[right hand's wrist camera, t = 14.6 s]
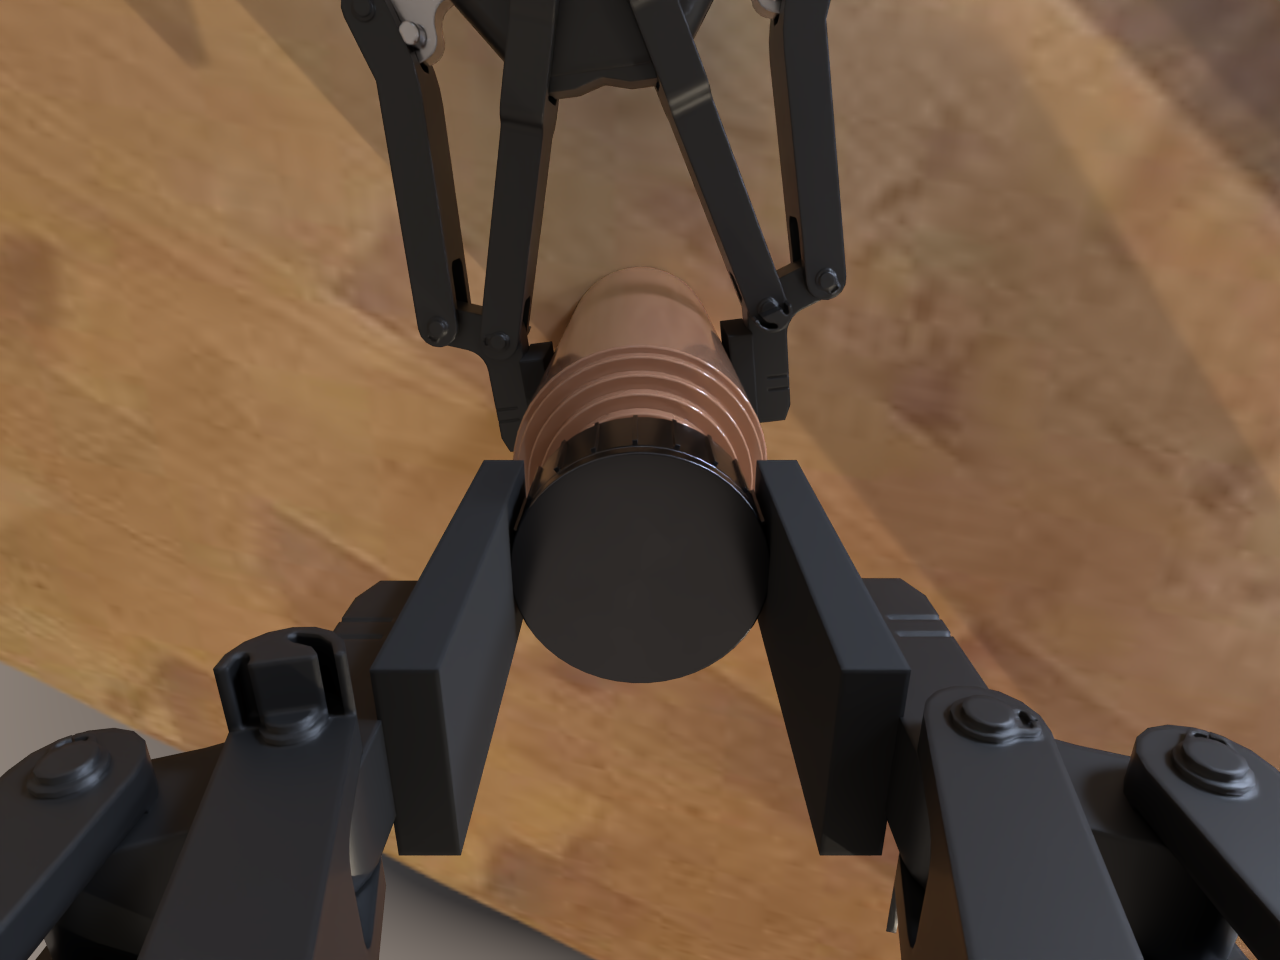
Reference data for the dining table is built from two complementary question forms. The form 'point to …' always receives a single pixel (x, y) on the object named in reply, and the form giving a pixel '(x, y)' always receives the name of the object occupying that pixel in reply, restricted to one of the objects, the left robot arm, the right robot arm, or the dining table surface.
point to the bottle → (640, 371)
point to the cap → (640, 551)
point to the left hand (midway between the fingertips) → (657, 517)
